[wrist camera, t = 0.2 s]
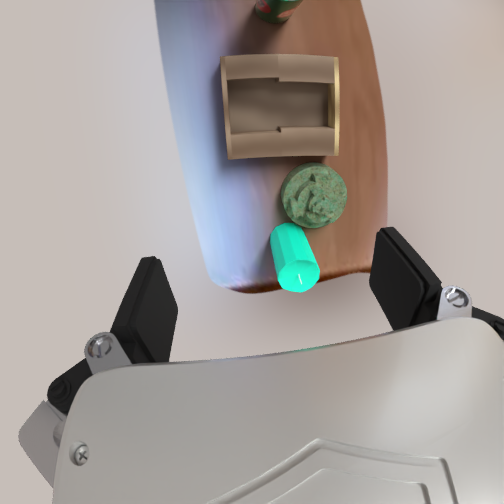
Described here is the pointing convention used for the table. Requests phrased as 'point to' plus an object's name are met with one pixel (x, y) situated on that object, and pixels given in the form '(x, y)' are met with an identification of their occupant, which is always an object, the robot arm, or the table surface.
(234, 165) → the table surface
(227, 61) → the open cardboard box
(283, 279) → the candle
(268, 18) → the soda can
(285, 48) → the table surface
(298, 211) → the decorative artifact
